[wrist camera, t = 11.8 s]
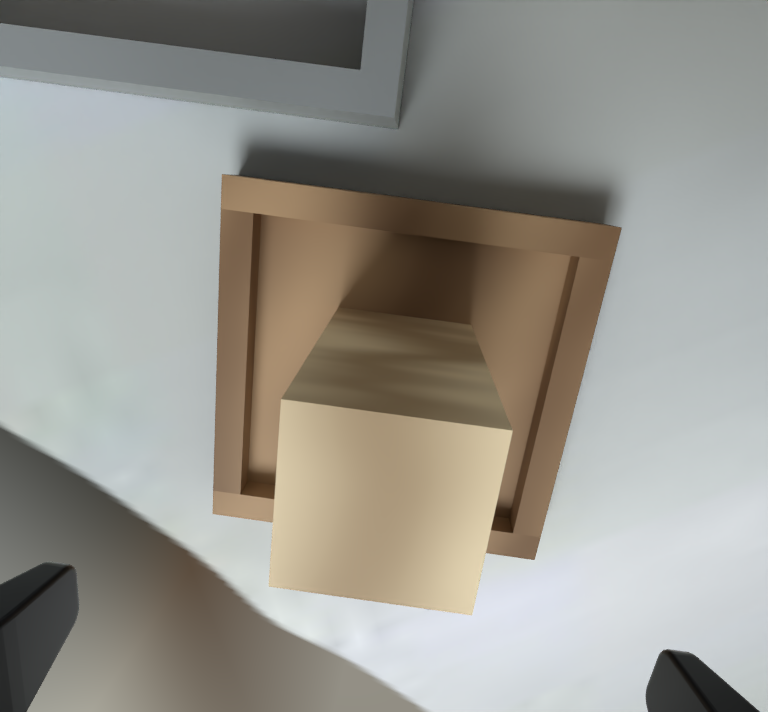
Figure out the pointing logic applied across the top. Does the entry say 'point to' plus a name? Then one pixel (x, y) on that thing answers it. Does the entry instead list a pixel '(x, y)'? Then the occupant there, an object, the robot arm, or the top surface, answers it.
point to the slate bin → (225, 70)
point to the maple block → (389, 464)
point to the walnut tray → (406, 298)
